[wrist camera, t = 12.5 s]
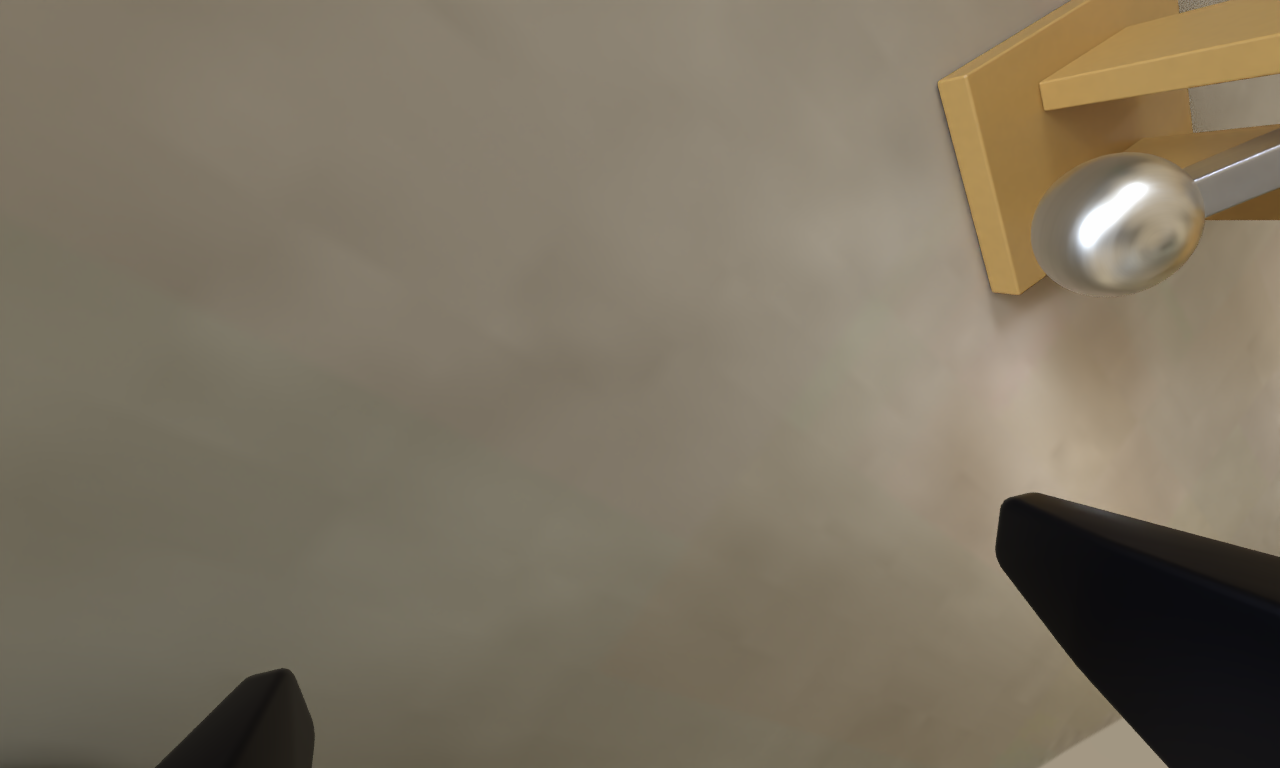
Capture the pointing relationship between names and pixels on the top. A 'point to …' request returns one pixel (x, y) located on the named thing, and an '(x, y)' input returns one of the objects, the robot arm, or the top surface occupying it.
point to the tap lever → (1141, 214)
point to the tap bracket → (1096, 107)
